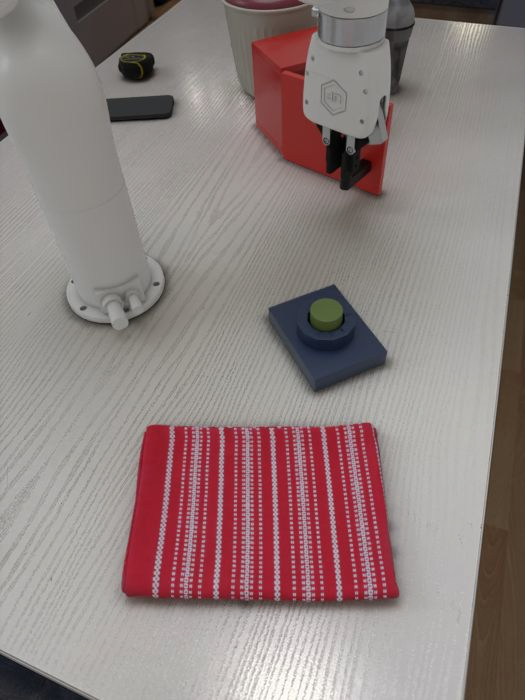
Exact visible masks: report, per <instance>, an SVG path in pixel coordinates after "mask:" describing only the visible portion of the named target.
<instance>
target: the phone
mask: <svg viewBox="0 0 525 700" xmlns="http://www.w3.org/2000/svg"><path fill="white" fill-rule="evenodd" d="M106 101H107V106H108V111H109V117H110V122H111V121H127V120H143V119H158V118H159V119H160V118H168V117H170V116H171V115H172V114H173V113H172V112H173V107H174V102H175V100H174V96H173V95H171V94H163V95H161V94H160V95H145V96H129V97H127V96H126V97H112V98H111V97H110V98H106Z"/></svg>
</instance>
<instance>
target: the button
mask: <svg viewBox="0 0 525 700" xmlns="http://www.w3.org/2000/svg"><path fill="white" fill-rule="evenodd" d="M342 316H343V308H342V306H341V304H340V303H339V302H337V301H336V300H333V299H329V298H324V299H319V300H317V301H315V302H314V303H313V304H312V305H311V308H310V323H311V325H312V326H313V327H314V328H315V329H316V330H318V331H321V332H331V331H334V330H336V329H338V328H339V327H340V325H341V323H342Z"/></svg>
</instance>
